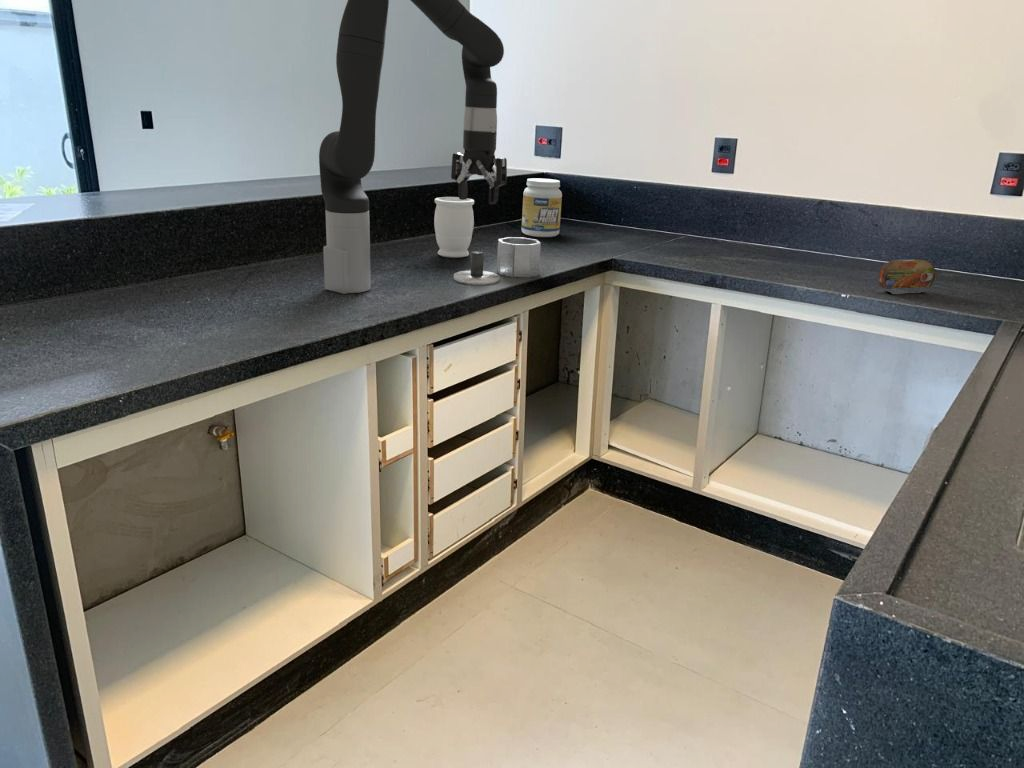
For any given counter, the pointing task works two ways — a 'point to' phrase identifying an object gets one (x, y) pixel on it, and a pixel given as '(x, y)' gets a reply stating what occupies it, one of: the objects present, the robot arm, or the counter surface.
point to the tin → (907, 274)
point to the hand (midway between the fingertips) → (477, 201)
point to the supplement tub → (541, 208)
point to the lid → (476, 272)
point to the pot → (518, 257)
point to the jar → (453, 226)
